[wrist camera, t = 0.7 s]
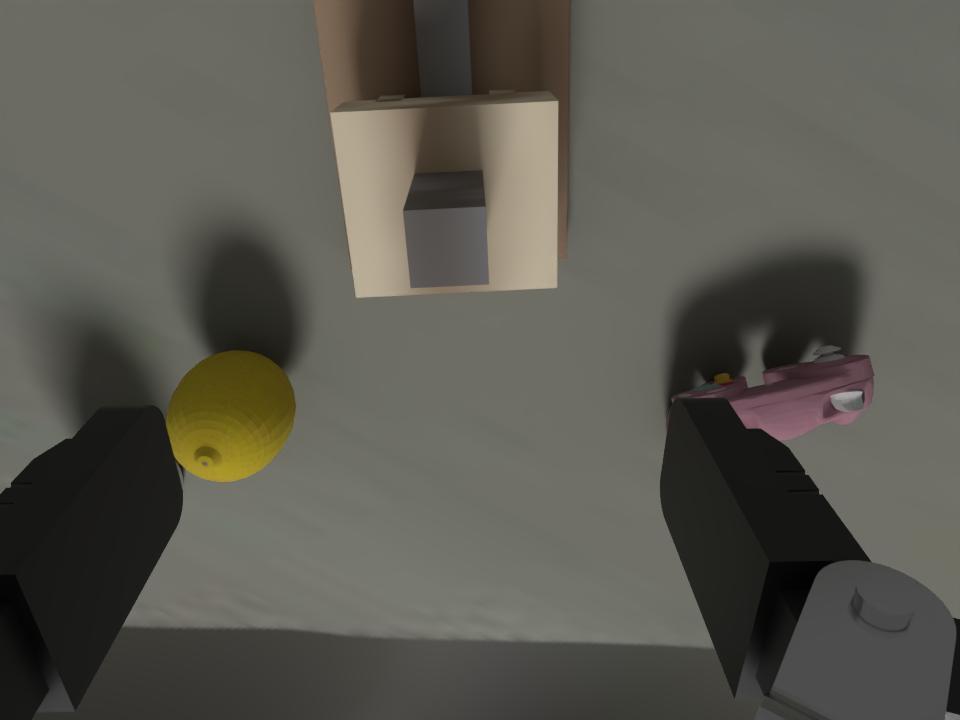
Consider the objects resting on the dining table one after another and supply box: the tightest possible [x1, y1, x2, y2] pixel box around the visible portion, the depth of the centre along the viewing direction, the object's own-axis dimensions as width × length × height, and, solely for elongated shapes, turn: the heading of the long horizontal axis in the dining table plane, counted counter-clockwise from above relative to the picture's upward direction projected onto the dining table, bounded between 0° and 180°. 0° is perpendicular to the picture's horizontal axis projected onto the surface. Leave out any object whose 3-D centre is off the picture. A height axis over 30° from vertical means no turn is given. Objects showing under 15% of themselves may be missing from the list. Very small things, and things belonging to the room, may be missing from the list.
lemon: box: [165, 350, 296, 482], centre depth 32 cm, size 6×6×8 cm
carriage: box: [330, 89, 558, 298], centre depth 25 cm, size 8×7×9 cm
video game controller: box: [666, 345, 874, 440], centre depth 34 cm, size 10×5×7 cm, turn 105°
